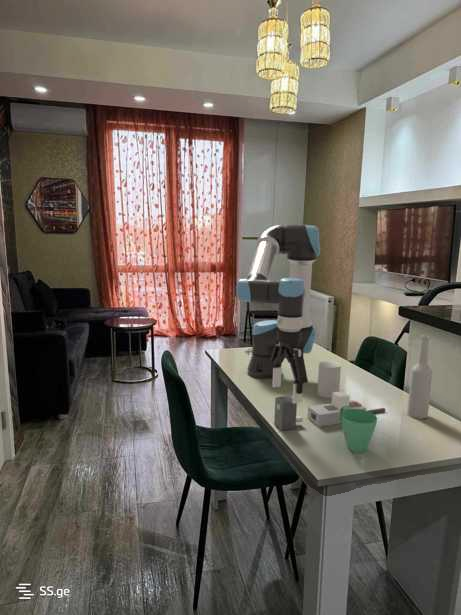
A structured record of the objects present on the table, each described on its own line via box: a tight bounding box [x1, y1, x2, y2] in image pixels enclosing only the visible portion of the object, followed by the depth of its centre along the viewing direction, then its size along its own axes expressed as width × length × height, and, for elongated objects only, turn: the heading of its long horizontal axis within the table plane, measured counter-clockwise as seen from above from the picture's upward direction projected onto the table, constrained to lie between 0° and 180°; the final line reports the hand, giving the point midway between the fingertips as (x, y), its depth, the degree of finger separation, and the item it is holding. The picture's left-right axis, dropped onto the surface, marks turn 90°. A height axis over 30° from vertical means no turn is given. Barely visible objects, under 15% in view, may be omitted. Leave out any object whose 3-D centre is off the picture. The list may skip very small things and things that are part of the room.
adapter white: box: [331, 390, 350, 410], centre depth 141 cm, size 4×4×4 cm
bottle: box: [406, 334, 433, 420], centre depth 144 cm, size 7×7×28 cm
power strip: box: [307, 400, 386, 427], centre depth 143 cm, size 7×29×5 cm, turn 111°
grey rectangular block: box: [273, 395, 304, 431], centre depth 135 cm, size 5×8×9 cm, turn 111°
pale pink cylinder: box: [316, 360, 342, 399], centre depth 163 cm, size 8×8×12 cm
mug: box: [341, 406, 378, 454], centre depth 124 cm, size 15×10×10 cm
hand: (286, 394), depth 134 cm, fingers open, 13 cm apart
